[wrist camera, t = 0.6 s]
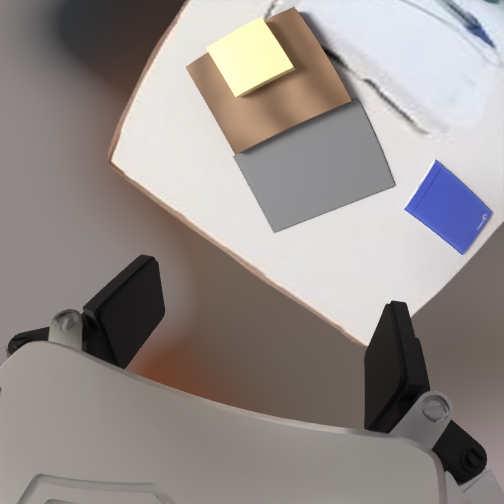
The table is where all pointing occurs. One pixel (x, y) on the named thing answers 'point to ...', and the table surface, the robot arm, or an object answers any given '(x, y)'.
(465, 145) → the table surface
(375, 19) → the table surface
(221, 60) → the sticky pad
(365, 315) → the table surface
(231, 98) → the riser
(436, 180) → the hard drive
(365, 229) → the table surface
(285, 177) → the mat
